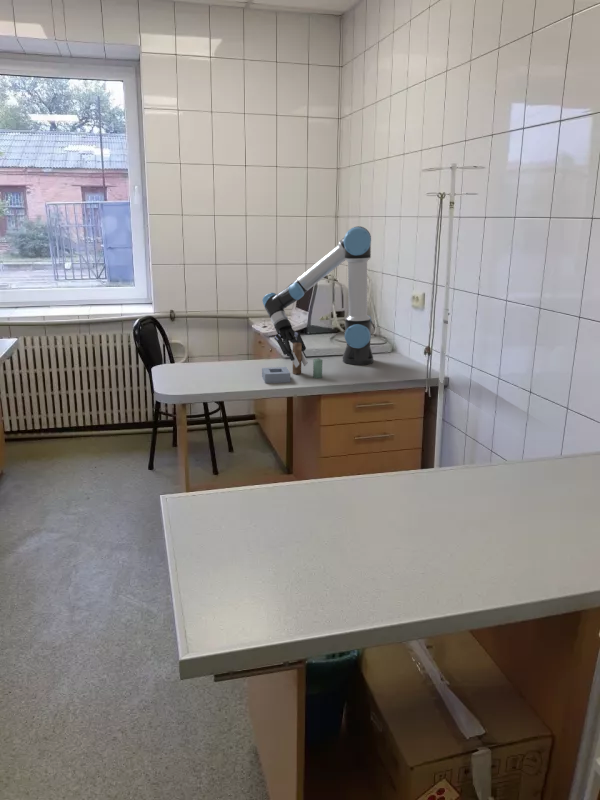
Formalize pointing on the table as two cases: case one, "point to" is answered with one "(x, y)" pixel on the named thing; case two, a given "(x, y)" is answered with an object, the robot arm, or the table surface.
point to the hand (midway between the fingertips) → (301, 365)
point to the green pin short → (317, 368)
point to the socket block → (276, 375)
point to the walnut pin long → (297, 351)
